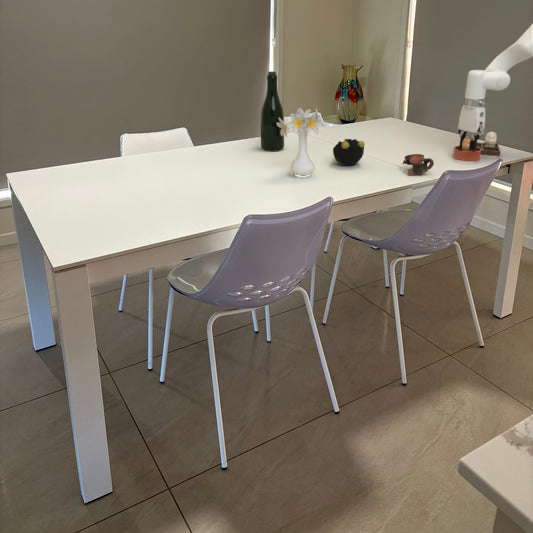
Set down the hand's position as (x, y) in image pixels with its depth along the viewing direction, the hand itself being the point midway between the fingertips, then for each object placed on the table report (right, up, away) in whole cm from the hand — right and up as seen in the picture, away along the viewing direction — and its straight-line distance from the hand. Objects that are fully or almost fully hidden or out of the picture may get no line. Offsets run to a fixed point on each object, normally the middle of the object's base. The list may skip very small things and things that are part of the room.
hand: (467, 147), depth 241 cm
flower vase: (-69, -15, -18) cm, 73 cm away
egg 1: (0, -3, +1) cm, 3 cm away
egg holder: (+10, 0, +12) cm, 16 cm away
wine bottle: (-80, +3, +21) cm, 83 cm away
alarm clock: (-50, -8, -3) cm, 51 cm away
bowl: (0, -4, +2) cm, 5 cm away
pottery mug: (-24, -13, -14) cm, 31 cm away
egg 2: (+14, +2, +14) cm, 20 cm away
